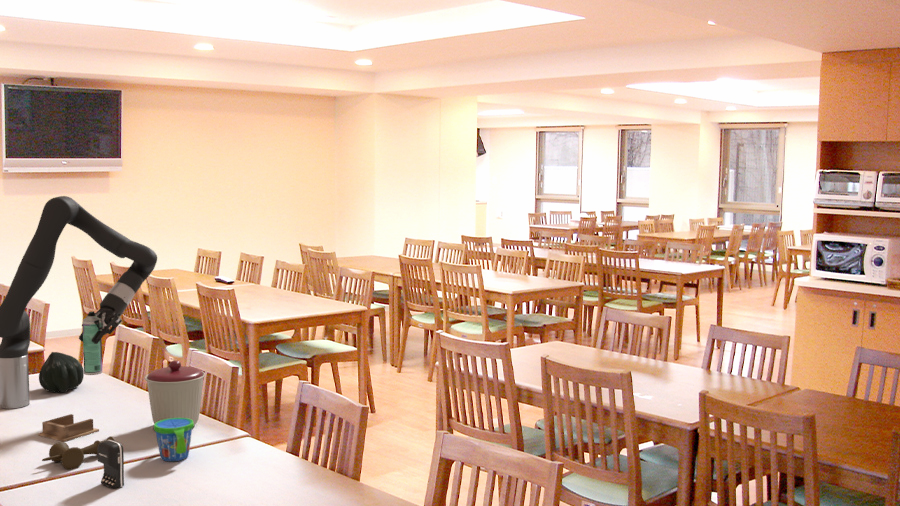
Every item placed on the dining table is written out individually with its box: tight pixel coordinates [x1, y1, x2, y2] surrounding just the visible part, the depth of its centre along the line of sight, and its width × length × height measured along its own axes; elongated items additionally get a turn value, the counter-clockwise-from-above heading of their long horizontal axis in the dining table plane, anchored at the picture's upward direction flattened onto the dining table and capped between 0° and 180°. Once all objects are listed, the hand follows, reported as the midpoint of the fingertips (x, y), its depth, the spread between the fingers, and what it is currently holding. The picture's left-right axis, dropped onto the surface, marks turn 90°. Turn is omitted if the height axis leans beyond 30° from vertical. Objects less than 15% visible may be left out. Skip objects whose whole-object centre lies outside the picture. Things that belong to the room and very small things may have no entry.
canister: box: [144, 360, 206, 426], centre depth 259 cm, size 18×18×21 cm
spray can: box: [82, 310, 103, 376], centre depth 264 cm, size 6×6×20 cm
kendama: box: [41, 435, 117, 471], centre depth 228 cm, size 6×10×20 cm
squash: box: [38, 351, 85, 393], centre depth 300 cm, size 14×15×15 cm
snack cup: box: [153, 418, 195, 462], centre depth 231 cm, size 16×10×10 cm
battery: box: [96, 440, 125, 489], centre depth 210 cm, size 7×4×11 cm, turn 54°
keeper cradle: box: [38, 413, 100, 443], centre depth 252 cm, size 12×12×4 cm
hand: (87, 341), depth 262 cm, fingers closed on spray can, 5 cm apart
